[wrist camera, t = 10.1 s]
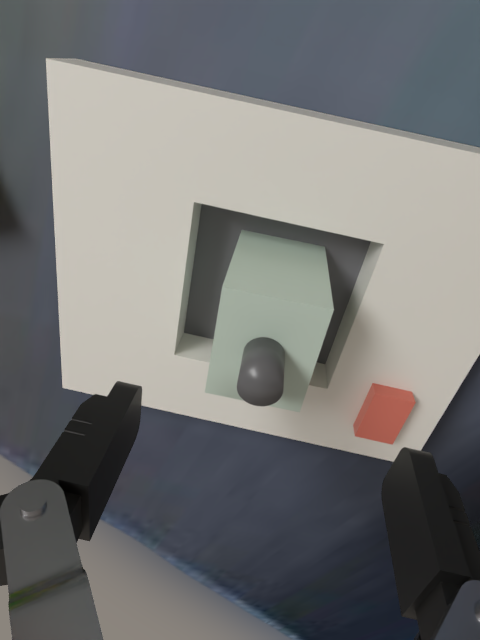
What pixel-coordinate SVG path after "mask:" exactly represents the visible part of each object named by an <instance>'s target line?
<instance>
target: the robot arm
mask: <svg viewBox="0 0 480 640" xmlns="http://www.w3.org/2000/svg"><path fill="white" fill-rule="evenodd" d="M141 401H142V386H138V385H134V384H129V383H125V382H121V381H117V382H116V383H115V384H114V386H113V388H112V389H111V391H110V393H109V394H108V396H103V395H98V394H95V395H93V396H92V397H90V398H89V399H88V400H86V401H85V402H84V403H82V404H81V405H80V407H79V408H78V410H77V411H76V413H75V414H74V416H73V417H72V420H71V421H70V422H69V423H68V425H67V427H66V428H65V431H64V432H63V433H62V434H61V436H60V437H59V439H58V440H57V442H56V443H55V445H54V446H53V448H52V449H51V451H50V453H49V454H48V456H47V457H46V459H45V460H44V462H43V463H42V465H41V466H40V468H39V469H38V471H37V472H36V474H35V475H34V477H33V478H32V479H31V480H30V481H28V482H26V483H23V484H21V485H19V486H18V487H16V488H15V489H13V490H12V491H11V492H10V493H8V494H4V495H1V496H0V586H2V585H8V590H9V615H10V624H11V634H12V640H103V637H102V632H101V628H100V624H99V620H98V616H97V612H96V608H95V605H94V600H93V597H92V592H91V588H90V584H89V581H88V577H87V574H86V572H85V570H84V569H83V567H82V564H81V560H80V556H79V552H78V548H77V544H76V543H77V541H78V539H83V540H87V541H90V539H91V537H92V535H93V533H94V531H95V528H96V526H97V524H98V522H99V520H100V517H101V515H102V513H103V511H104V508H105V506H106V504H107V502H108V500H109V497H110V495H111V493H112V491H113V488H114V486H115V484H116V482H117V479H118V477H119V475H120V473H121V471H122V468H123V466H124V464H125V462H126V459H127V457H128V455H129V453H130V451H131V448H132V446H133V444H134V442H135V439H136V436H137V433H138V429H139V425H140V415H141ZM382 504H383V509H384V515H385V521H386V527H387V533H388V539H389V545H390V551H391V556H392V562H393V568H394V574H395V580H396V586H397V592H398V598H399V603H400V609H401V615H402V616H403V617H407V618H412V619H416V620H417V621H418V626H419V632H418V634H417V635H416V636H415V638H414V640H480V552H479V549H478V546H477V543H476V540H475V537H474V534H473V532H472V529H471V527H469V524H470V523H469V520H468V517H467V514H466V513H465V512H464V510H465V509H464V506H463V503H462V500H461V497H460V494H459V492H458V490H457V489H456V488H455V486H454V485H453V484H452V482H451V481H450V479H449V478H448V477H447V475H444V474H440V473H438V471H437V467H436V464H435V461H434V458H433V456H432V454H431V453H428V452H424V451H420V450H415V449H411V448H406V447H403V448H402V449H401V450H400V452H399V454H398V455H397V457H396V459H395V461H394V462H393V464H392V466H391V468H390V469H389V471H388V473H387V475H386V477H385V478H384V481H383V485H382Z"/></svg>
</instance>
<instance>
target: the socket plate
mask: <svg viewBox="0 0 480 640" xmlns="http://www.w3.org/2000/svg"><path fill="white" fill-rule="evenodd" d="M46 69H47V89H48V109H49V128H50V148H51V168H52V187H53V207H54V227H55V246H56V266H57V286H58V306H59V325H60V345H61V365H62V384H63V388H66V389H70V390H75V391H79V392H84V393H88V394H93V395H95V394H98V395H103V396H108V394H109V393H110V391H111V389H112V388H113V386H114V384H115V383H116V382H117V381H121V382H125V383H129V384H134V385H138V386H142V401H141V405H142V406H146V407H151V408H155V409H160V410H164V411H169V412H173V413H178V414H182V415H187V416H191V417H196V418H200V419H205V420H209V421H214V422H218V423H222V424H227V425H231V426H236V427H240V428H245V429H249V430H254V431H258V432H263V433H267V434H272V435H276V436H281V437H285V438H290V439H294V440H299V441H303V442H308V443H312V444H317V445H321V446H325V447H330V448H334V449H339V450H343V451H348V452H352V453H357V454H361V455H366V456H370V457H375V458H379V459H384V460H388V461H393V462H394V461H395V459H396V457H397V455H398V454H399V452H400V450H401V449H402V448H403V447H406V448H411V449H415V450H420V451H421V449H422V448H423V446H424V444H425V443H426V441H427V439H428V438H429V436H430V435H431V433H432V431H433V430H434V428H435V426H436V425H437V423H438V421H439V420H440V418H441V417H442V415H443V413H444V412H445V410H446V408H447V407H448V405H449V403H450V402H451V400H452V399H453V397H454V395H455V394H456V392H457V390H458V389H459V387H460V385H461V384H462V382H463V380H464V379H465V377H466V376H467V374H468V372H469V371H470V369H471V367H472V366H473V364H474V362H475V361H476V359H477V358H478V356H479V354H480V148H479V147H475V146H470V145H466V144H461V143H457V142H452V141H448V140H443V139H439V138H434V137H429V136H425V135H420V134H416V133H411V132H407V131H402V130H398V129H393V128H389V127H384V126H380V125H375V124H370V123H366V122H361V121H357V120H352V119H348V118H343V117H339V116H334V115H330V114H325V113H321V112H316V111H311V110H307V109H302V108H298V107H293V106H289V105H284V104H280V103H275V102H271V101H266V100H262V99H257V98H253V97H248V96H243V95H239V94H234V93H230V92H225V91H221V90H216V89H212V88H207V87H203V86H198V85H194V84H189V83H184V82H180V81H175V80H171V79H166V78H162V77H157V76H153V75H148V74H144V73H139V72H135V71H130V70H125V69H121V68H116V67H112V66H107V65H103V64H98V63H94V62H89V61H85V60H80V59H62V58H46ZM241 230H246V231H251V232H255V233H260V234H265V235H270V236H275V237H280V238H285V239H290V240H294V241H299V242H304V243H309V244H314V245H319V246H324V247H325V250H326V257H327V264H328V271H329V279H330V286H331V293H332V300H333V307H334V311H333V314H332V317H331V320H330V323H329V326H328V329H327V332H326V335H325V338H324V341H323V344H322V347H321V350H320V353H319V356H318V359H317V362H316V365H315V368H314V371H313V374H312V377H311V380H310V383H309V386H308V389H307V392H306V395H305V398H304V401H303V404H302V407H301V410H300V412H295V411H290V410H286V409H281V408H276V407H271V406H254V405H251V404H249V403H247V402H245V401H243V400H238V399H233V398H228V397H224V396H219V395H214V394H209V393H205V388H206V382H207V376H208V370H209V364H210V358H211V351H212V345H213V339H214V333H215V327H216V321H217V315H218V309H219V303H220V297H221V291H222V286H223V283H224V280H225V277H226V274H227V271H228V268H229V265H230V262H231V259H232V256H233V254H234V251H235V248H236V245H237V242H238V239H239V236H240V233H241Z"/></svg>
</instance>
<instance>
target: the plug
mask: <svg viewBox="0 0 480 640" xmlns="http://www.w3.org/2000/svg"><path fill="white" fill-rule="evenodd" d="M333 311H334V307H333V300H332V293H331V286H330V279H329V271H328V264H327V257H326V250H325V247H324V246H319V245H314V244H309V243H304V242H299V241H294V240H290V239H285V238H280V237H275V236H270V235H265V234H260V233H255V232H251V231H246V230H241V233H240V236H239V239H238V242H237V245H236V248H235V251H234V254H233V256H232V259H231V262H230V265H229V268H228V271H227V274H226V277H225V280H224V283H223V286H222V291H221V297H220V303H219V309H218V315H217V321H216V327H215V333H214V339H213V345H212V351H211V358H210V364H209V370H208V376H207V382H206V388H205V393H209V394H214V395H219V396H224V397H228V398H233V399H238V400H243V401H245V402H247V403H249V404H251V405H254V406H271V407H276V408H281V409H286V410H290V411H295V412H300V410H301V407H302V404H303V401H304V398H305V395H306V392H307V389H308V386H309V383H310V380H311V377H312V374H313V371H314V368H315V365H316V362H317V359H318V356H319V353H320V350H321V347H322V344H323V341H324V338H325V335H326V332H327V329H328V326H329V323H330V320H331V317H332V314H333Z"/></svg>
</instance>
